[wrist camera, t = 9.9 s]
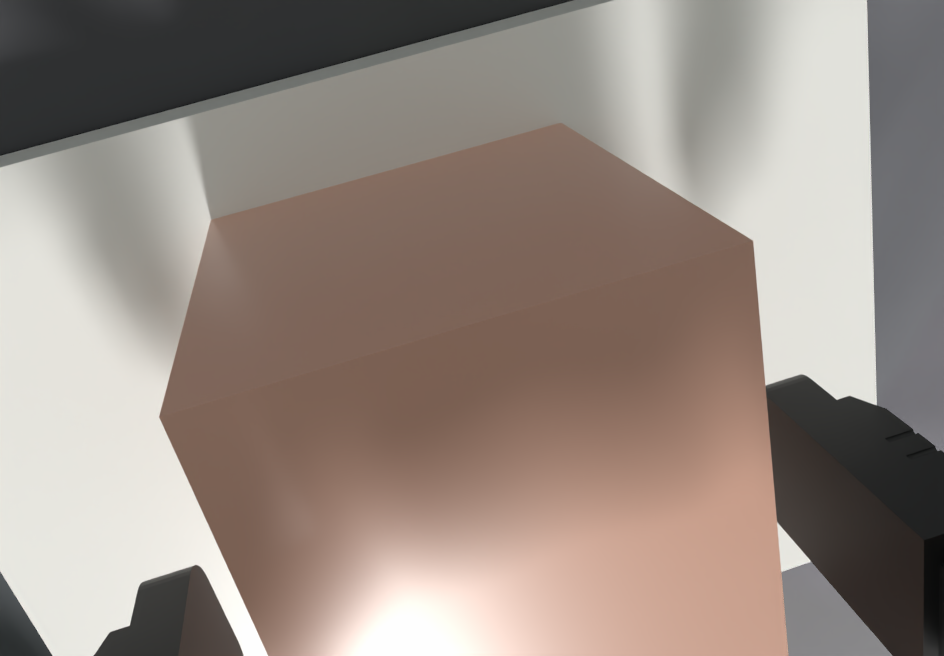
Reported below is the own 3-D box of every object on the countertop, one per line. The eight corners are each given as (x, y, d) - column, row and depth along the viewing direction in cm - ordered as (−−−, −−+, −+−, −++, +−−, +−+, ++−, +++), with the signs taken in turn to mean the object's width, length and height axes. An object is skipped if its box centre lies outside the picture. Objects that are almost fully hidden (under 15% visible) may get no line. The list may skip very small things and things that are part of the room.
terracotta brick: (561, 122, 13) (753, 240, 8) (640, 563, 17) (803, 844, 12) (211, 219, 13) (159, 417, 7) (374, 650, 17) (418, 984, 11)
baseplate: (820, -67, 14) (865, -69, 13) (846, 505, 19) (879, 538, 18) (-172, 202, 13) (-215, 225, 12) (144, 739, 18) (136, 790, 17)
